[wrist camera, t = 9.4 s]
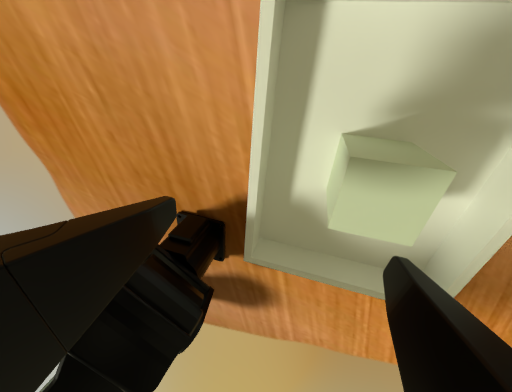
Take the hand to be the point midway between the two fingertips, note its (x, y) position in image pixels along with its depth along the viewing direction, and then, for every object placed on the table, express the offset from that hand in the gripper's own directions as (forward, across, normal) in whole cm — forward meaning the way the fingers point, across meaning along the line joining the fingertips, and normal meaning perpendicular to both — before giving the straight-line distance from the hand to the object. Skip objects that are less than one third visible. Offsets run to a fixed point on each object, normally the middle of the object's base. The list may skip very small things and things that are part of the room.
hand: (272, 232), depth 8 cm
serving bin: (+12, -6, 0) cm, 13 cm away
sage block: (+11, -6, 0) cm, 12 cm away
